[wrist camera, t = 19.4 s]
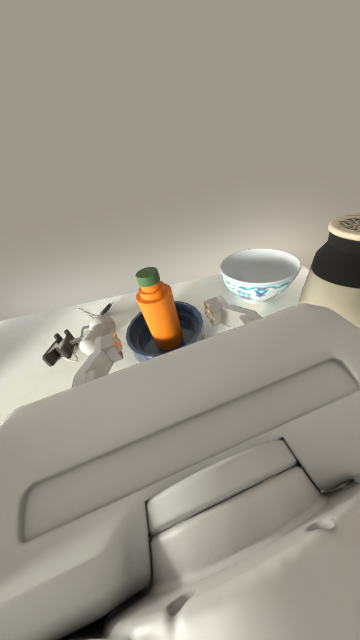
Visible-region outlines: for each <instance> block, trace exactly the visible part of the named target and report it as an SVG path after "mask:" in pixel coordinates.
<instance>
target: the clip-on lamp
mask: <svg viewBox="0 0 360 640" xmlns="http://www.w3.org/2000/svg"><path fill="white" fill-rule="evenodd" d="M113 303H114V302H112V303H109V304H108V305H107V306H106V307H105V308H104V310H103V311H102V312H101V313H100V315H94V314H91V313H89V312H87V311H85V310H83V309H80V308H78V309H79V310H80V311H82V312H84V313H86V314H87V313H88V314H87V315H89V314H90V315H89V316H91V315H93V316H96V317H93V319H92V321H91V322H90V325H89V326H84V327H83V328H82V331H81V337H79V338H76V339H75V338H74V337H73V336H72V334H71V333H70V332H69V331H68V329H67V330H65V331H64V333H65V334H66V337H65V339H64V340H63V339H62V337H61V336H60V335H59V334H58V333H57V334H55V335H54V338H55V339H56V341H55V342H54V343H53V344H52V345H51V347H50V348H49V349H48V350H47V351H46V353H45V354H44V355H43V360H44V361H45V362H46V363H47V364H48V365H49V366H53V365H54V364H55V363H56V362H57V361H58V360H60V359H61V358H62V357H64V358H65V359H66V360H68V361H72V362H77V361H78V358H77V356H76V354H75V352H76V351H77V350H78V348H79V346H80V349H81V351H82V352H83V353H85V354H92V353H94V348H95V339H96V338H97V337H100V336H103V335H106V334H110V333H113V332H114V330H115V323H114V321H113V319H112V318H110V317H109V316H106V315H103V314H104V313H106V312H107V311H108V310H109V308H110V307H111V306H112V304H113ZM91 317H92V316H91ZM86 328H90V330H89V331H88V333H87V334H86V335H85V336H83V330H84V329H86ZM82 336H83V337H82ZM78 342H79V344H78ZM74 346H75V347H77V348H76V349H75V350H74ZM73 350H74V351H73ZM72 353H73V354H74V355H75V357H76V358H77V360H70V359H69V358H71V356H72Z"/></svg>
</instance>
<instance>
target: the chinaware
mask: <svg viewBox="0 0 360 640" xmlns="http://www.w3.org/2000/svg"><path fill="white" fill-rule="evenodd" d="M300 269H301V263H300V260H299V259H298V258H297V257H295V256H294V255H292V254H290V253H288V252H284V251H281V250H275V249H250V250H245V251H240V252H237V253H234V254H232V255H230V256H228V257H226V258H225V259H224V260H223V261H222V263H221V265H220V271H221V275H222V278H223V280H224V282H225V284H226V286H227V287H228V288H229V289H230V291H232V292H233V293H234V294H235V295H237V296H239V297H240V299H242V300H243V301H245V302H249V303H260V302H264V301H266V300H267V299H268V298H271V297H274V296H276V295H278V294H279V293H281V292H282V291H284V290H285V289H286V288H287V287H288V286H289V285H290V284H291V283H292V282H293V280H294V279H295V278H296V276H297V275H298V273H299V271H300Z"/></svg>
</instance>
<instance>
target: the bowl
mask: <svg viewBox="0 0 360 640" xmlns="http://www.w3.org/2000/svg"><path fill="white" fill-rule="evenodd" d="M174 303H175V307H176V310H177V314H178V318H179V322H180V326H181V330H182V334H183V340H182V342H181V343H180V345H179V346H177V347H176V348H174V349H171V350H162V349H160V348H158V347H157V345H156V343H155V341H154V339H153V336H152V334H151V332H150V330H149V327H148V325H147V323H146V320H145V318H144V316H143V313H142V311H141V312H140V313H139V314H138V315H137V316H136V317H135V318H134V319H133V320H132V321H131V323H130V325H129V326H128V328H127V333H126V340H127V344H128V346H129V348H130V349H131V351H132V353H133V354H134V356H135V357H136V359H137V360H138V361H139V362H140V363H141V362H144V361H147V360H149V359H152V358H155V357H158V356H160V355H163V354H166V353H168V352H171V351H174V350H176V349H179V348H182V347H185V346H187V345H190V344H193V343H195V342H198V341H201V340H204V337H205V334H204V326H203V320H202V316H201V313H200V312H199V311H198V310H197V309H196V308H195V307H194V306H192V305H190V304H188V303H185V302H180V301H174Z"/></svg>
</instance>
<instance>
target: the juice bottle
mask: <svg viewBox="0 0 360 640" xmlns="http://www.w3.org/2000/svg"><path fill="white" fill-rule="evenodd" d="M136 278H137V281H138V283H139V285H140V286H141V287H140V289H139V292H138V293H137V295H136V300H137V302H138V304H139V307H140V309H141V311H142V313H143V316H144V318H145V320H146V323H147V325H148V327H149V330H150V332H151V334H152V336H153V339H154V341H155V343H156V345H157V347H158V348H160V349H162V350H171V349H174V348H176V347H177V346H179V345H180V343H181V342H182V340H183V334H182V330H181V326H180V322H179V318H178V314H177V310H176V307H175V303H174V299H173V295H172V291H171V287H170V286H169V285H167V284H164V283H163V282H162V281H160V277H159V273H158V270H157V269H156V268H154V267H148V268H144V269H141V270H140V271H138V272H137V274H136Z"/></svg>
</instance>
